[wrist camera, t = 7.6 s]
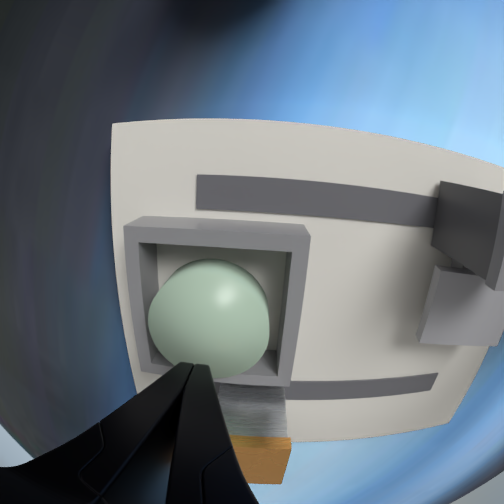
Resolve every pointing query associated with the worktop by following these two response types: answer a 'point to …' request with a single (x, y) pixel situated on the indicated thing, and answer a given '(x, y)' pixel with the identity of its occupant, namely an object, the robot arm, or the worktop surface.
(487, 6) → the worktop surface
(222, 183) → the panel
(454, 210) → the slider grey
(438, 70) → the worktop surface
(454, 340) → the rocker grey
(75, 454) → the robot arm
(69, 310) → the worktop surface
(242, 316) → the button green
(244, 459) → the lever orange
